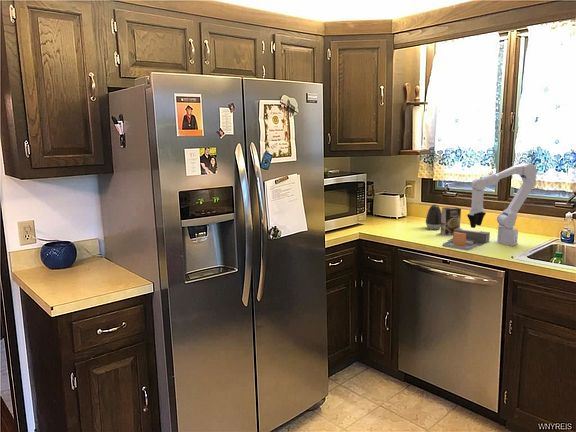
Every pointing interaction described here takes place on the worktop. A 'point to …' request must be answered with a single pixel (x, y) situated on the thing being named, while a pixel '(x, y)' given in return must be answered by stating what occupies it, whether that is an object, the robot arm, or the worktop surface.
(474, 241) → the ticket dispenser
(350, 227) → the worktop surface
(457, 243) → the end ticket
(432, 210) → the dark grey egg shape
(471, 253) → the worktop surface
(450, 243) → the collection tray
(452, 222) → the coffee box
